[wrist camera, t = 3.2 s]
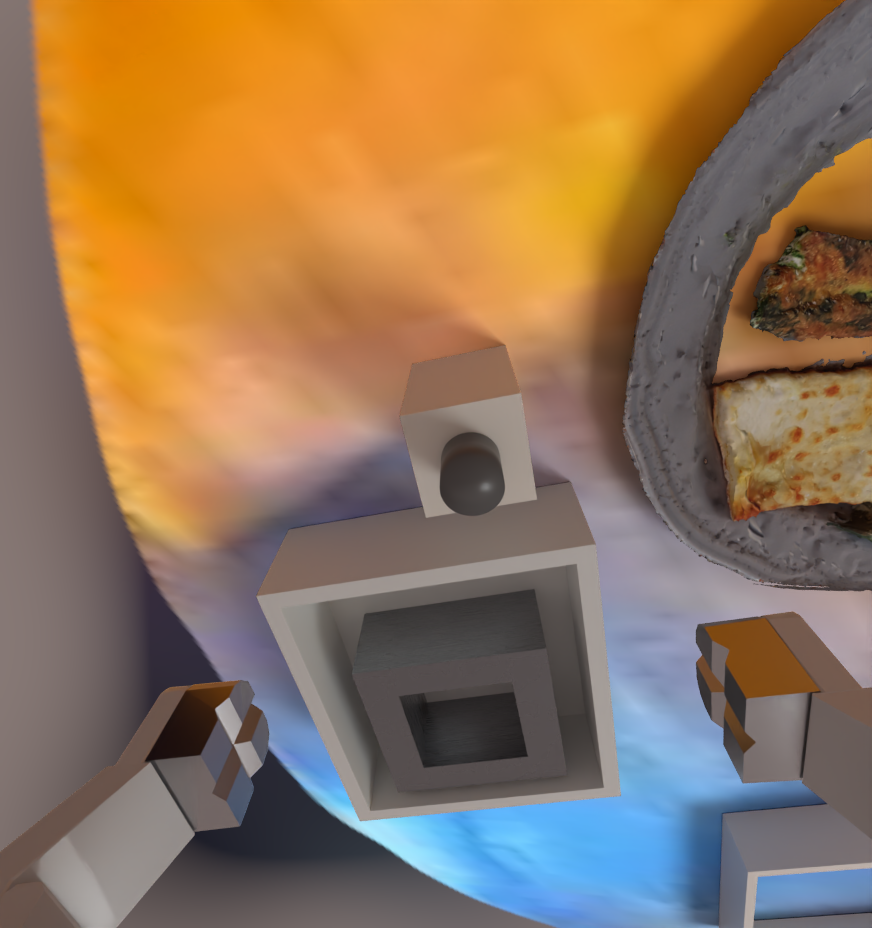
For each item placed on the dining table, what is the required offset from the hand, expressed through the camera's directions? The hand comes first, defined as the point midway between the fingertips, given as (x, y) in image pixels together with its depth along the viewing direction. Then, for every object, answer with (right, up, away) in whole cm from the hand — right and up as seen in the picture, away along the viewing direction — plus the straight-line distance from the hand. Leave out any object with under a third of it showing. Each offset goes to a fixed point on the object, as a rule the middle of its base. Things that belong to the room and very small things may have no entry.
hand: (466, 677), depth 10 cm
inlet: (+1, -7, +21) cm, 22 cm away
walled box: (+1, -5, +20) cm, 21 cm away
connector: (+1, +7, +14) cm, 15 cm away
